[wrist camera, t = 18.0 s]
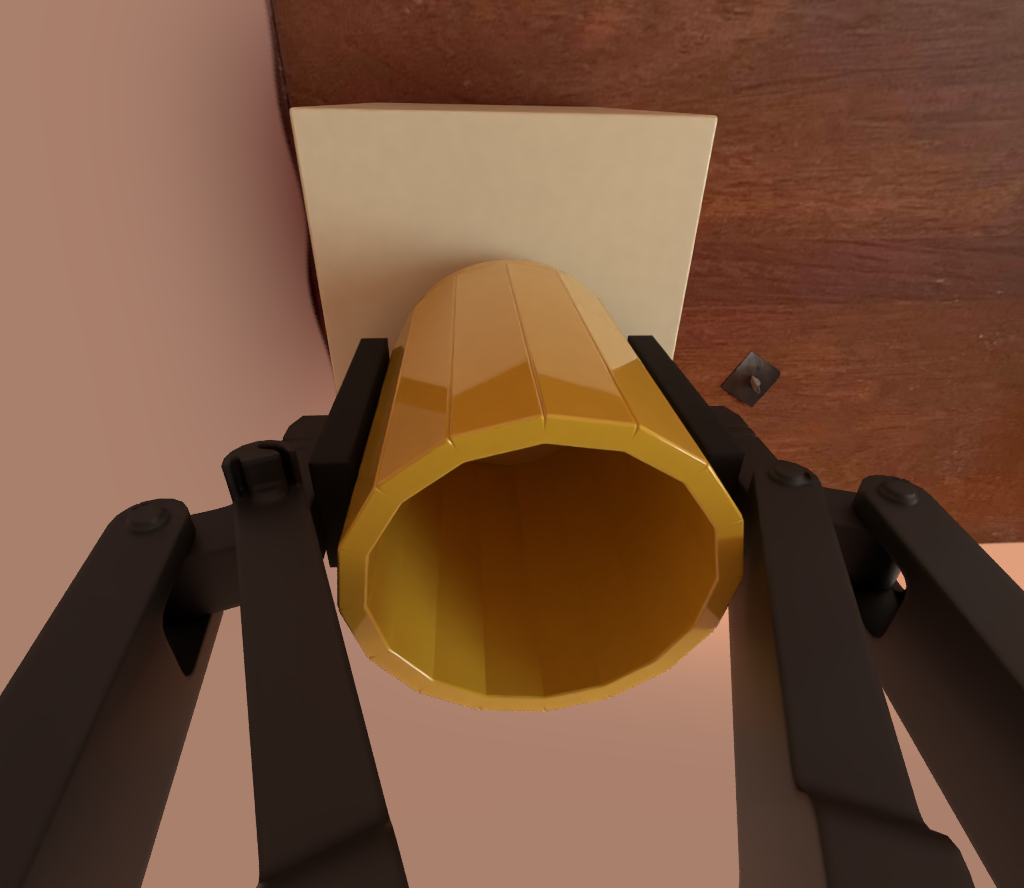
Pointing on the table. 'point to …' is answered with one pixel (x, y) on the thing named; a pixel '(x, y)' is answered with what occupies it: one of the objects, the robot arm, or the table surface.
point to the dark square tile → (751, 379)
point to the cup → (530, 504)
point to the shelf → (498, 206)
